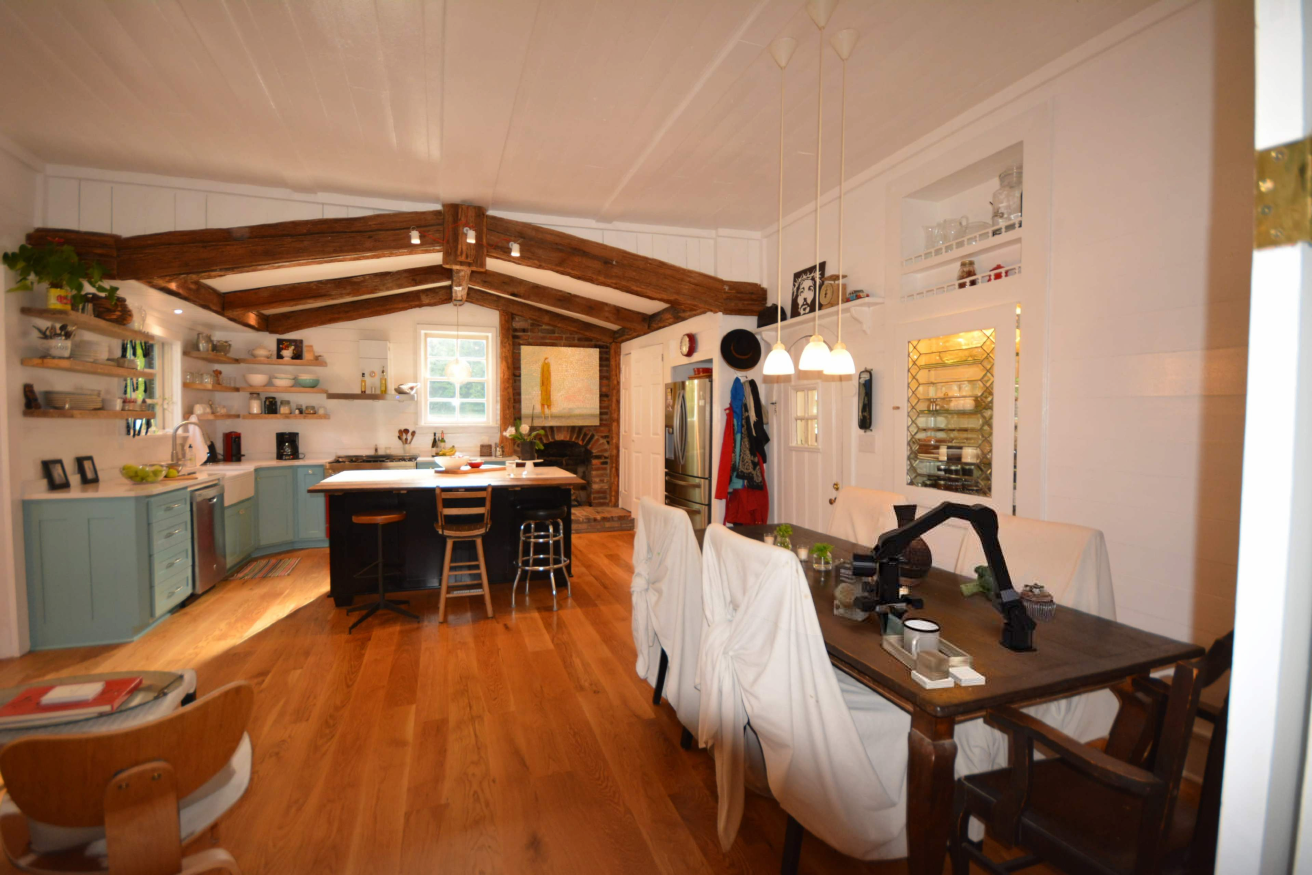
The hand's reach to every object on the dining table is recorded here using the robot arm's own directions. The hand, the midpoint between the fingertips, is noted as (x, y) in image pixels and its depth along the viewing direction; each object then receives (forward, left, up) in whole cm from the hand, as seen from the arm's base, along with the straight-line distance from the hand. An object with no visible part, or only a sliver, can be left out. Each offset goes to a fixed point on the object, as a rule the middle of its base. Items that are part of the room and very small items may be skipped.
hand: (887, 632), depth 164 cm
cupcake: (-55, -8, -2) cm, 56 cm away
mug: (0, +15, -2) cm, 15 cm away
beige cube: (+4, +27, 0) cm, 27 cm away
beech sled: (-2, +10, -1) cm, 11 cm away
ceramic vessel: (-34, -46, -2) cm, 58 cm away
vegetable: (-51, -27, -2) cm, 58 cm away
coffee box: (+2, -18, -2) cm, 19 cm away
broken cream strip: (0, +27, -2) cm, 27 cm away
